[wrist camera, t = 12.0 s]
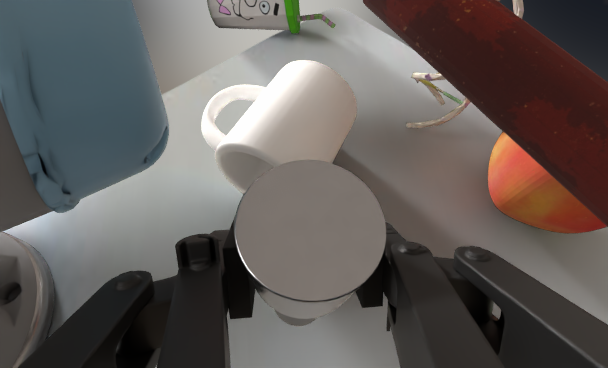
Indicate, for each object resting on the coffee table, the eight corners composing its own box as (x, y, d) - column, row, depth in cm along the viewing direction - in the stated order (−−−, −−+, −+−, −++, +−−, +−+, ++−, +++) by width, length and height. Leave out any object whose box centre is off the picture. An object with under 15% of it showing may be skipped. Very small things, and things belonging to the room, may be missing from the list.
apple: (542, 278, 22) (697, 228, 14) (440, 196, 26) (513, 116, 17) (589, 205, 26) (736, 131, 17) (494, 142, 29) (577, 53, 21)
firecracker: (826, 208, 11) (356, -123, 21) (685, 276, 13) (308, -60, 22) (720, 204, 16) (372, -67, 25) (625, 255, 17) (331, -18, 27)
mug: (349, 143, 29) (367, 77, 22) (306, 227, 24) (312, 175, 17) (245, 103, 31) (233, 31, 24) (187, 172, 26) (151, 107, 20)
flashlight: (253, 318, 17) (204, 265, 7) (280, 254, 19) (270, 142, 9) (319, 345, 16) (366, 331, 6) (339, 277, 18) (399, 184, 8)
